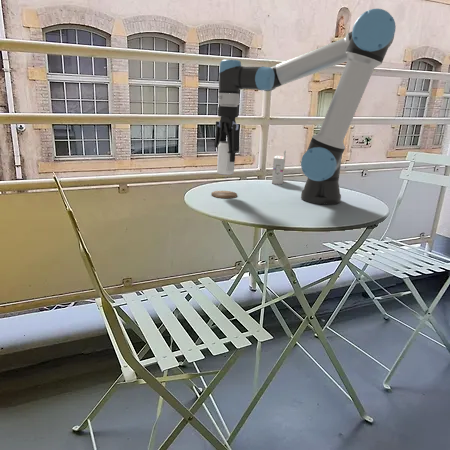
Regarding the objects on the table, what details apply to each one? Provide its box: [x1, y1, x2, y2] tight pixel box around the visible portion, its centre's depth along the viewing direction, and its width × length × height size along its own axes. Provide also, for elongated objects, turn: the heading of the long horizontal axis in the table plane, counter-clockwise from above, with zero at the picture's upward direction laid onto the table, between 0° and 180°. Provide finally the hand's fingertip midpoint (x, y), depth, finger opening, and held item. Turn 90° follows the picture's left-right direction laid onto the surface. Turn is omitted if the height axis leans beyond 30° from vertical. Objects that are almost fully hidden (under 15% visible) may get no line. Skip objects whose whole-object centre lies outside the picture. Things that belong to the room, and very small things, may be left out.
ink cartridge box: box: [271, 149, 287, 185], centre depth 179 cm, size 9×5×15 cm, turn 168°
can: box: [216, 140, 235, 176], centre depth 149 cm, size 6×6×12 cm
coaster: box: [211, 190, 238, 199], centre depth 153 cm, size 10×10×1 cm
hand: (225, 168), depth 150 cm, fingers closed on can, 6 cm apart
